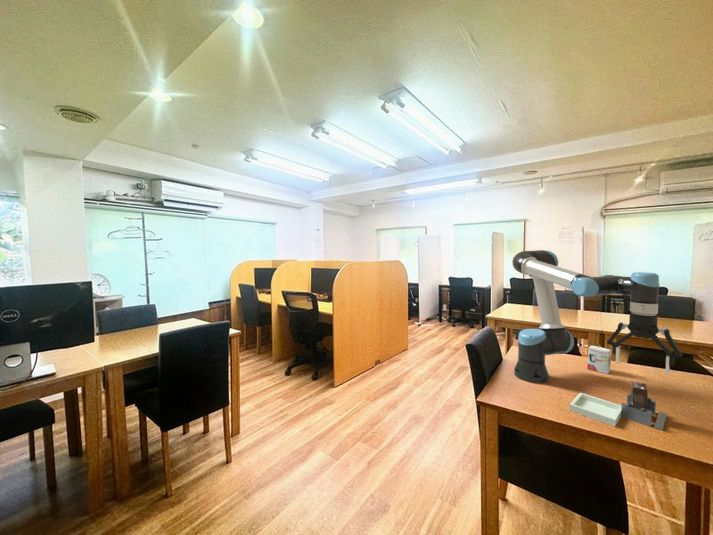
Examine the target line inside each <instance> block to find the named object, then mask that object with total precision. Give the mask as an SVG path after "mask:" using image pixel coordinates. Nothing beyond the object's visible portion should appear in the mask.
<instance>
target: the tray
mask: <svg viewBox="0 0 713 535" xmlns="http://www.w3.org/2000/svg"><path fill="white" fill-rule="evenodd" d="M568 409H569V411H570V412H573V413H575V414H578V415H581V416H584V417H587V418H589V419H592V420H594V421H597V422H600V423H604V424H606V425H608V424H609V426H611V425H612V427H614V426H617V425H618V423H619V421H620V420H621V418H622V417H621V404H619V403H614V402H611V401H608V400H605V399H602V398H599V397H595V396H592V395H589V394H587V393H584V392H583V393H582V392H579V393H578V394H577V395H576V397H574V399H573V400H572V401H570V403H569V408H568ZM616 424H617V425H616Z"/></svg>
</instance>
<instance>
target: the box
mask: <svg viewBox="0 0 713 535" xmlns="http://www.w3.org/2000/svg"><path fill="white" fill-rule="evenodd" d="M630 383H631V384H630V386H631V387H630V388H631V391H630V394H631V404H632V406H635V407H639V408H641V407H643V408H646V409H647V408H648V397H649V396H648V395H649V394H648V393H649V390H648V387H647V385H646V383H642V382H638V381H631V382H630Z"/></svg>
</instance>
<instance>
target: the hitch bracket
mask: <svg viewBox="0 0 713 535" xmlns="http://www.w3.org/2000/svg"><path fill="white" fill-rule="evenodd" d="M620 405H621V418H623V419H626V420H629V421H633V422H635V423H639V424H641V425H643V426H644V425H645V426H647V427H651V426H652V418H653V417H652V416H655V415H656V414H657V413H656V411H657V410H656V409H657V400H655V399H652V398H651V397H649V396H648V408H647V409H646V408H643V407H641V408H639V407H635V406H632V404H631V392H628V393H627V396H626V402H622V403H621V404H620ZM667 417H668V413H665V412H663V411H660V410H659V411H658V414H657V417H656V420H655V422H654V429H655V430H659V431H663V430H664V426H665V424H666V420H667Z"/></svg>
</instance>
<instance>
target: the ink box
mask: <svg viewBox="0 0 713 535" xmlns="http://www.w3.org/2000/svg"><path fill="white" fill-rule="evenodd" d="M611 360H612V350H611V349H609V348H606V347H605V348H604V347H601V346H596V345H590V346H589V347H588V351H587V369H588V370H591V371H595V372H599V373H603V374H609V373H610V371H611Z"/></svg>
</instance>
